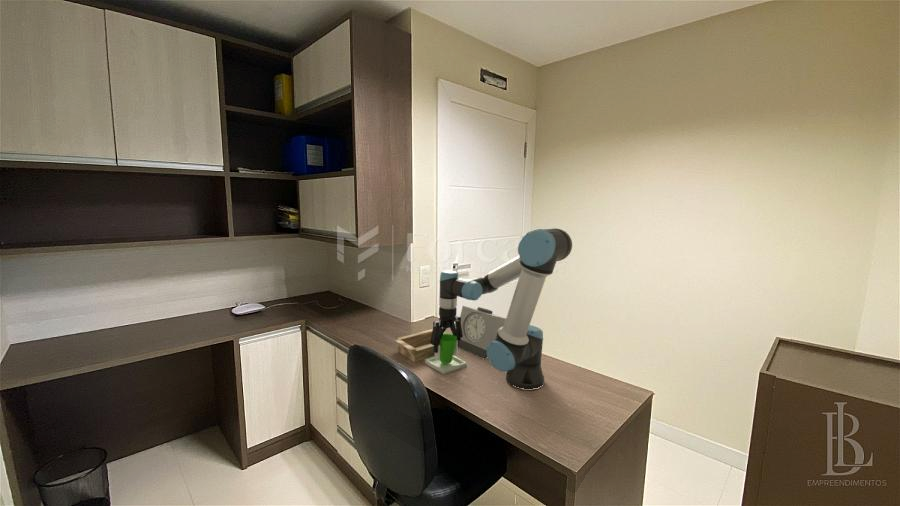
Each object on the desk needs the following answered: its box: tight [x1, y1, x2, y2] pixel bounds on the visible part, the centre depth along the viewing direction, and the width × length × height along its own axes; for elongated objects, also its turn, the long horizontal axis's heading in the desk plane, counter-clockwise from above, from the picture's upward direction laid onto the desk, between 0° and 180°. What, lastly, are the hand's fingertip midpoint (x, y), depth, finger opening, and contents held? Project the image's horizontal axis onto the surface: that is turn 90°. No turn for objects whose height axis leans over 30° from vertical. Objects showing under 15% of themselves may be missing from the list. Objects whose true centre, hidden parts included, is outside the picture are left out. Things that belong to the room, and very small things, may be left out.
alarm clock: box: [458, 305, 506, 360], centre depth 178 cm, size 20×16×20 cm
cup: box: [439, 332, 457, 364], centre depth 159 cm, size 9×9×11 cm
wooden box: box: [394, 328, 446, 363], centre depth 173 cm, size 17×25×6 cm
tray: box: [424, 354, 468, 376], centre depth 160 cm, size 13×13×2 cm
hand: (446, 356), depth 159 cm, fingers open, 9 cm apart
